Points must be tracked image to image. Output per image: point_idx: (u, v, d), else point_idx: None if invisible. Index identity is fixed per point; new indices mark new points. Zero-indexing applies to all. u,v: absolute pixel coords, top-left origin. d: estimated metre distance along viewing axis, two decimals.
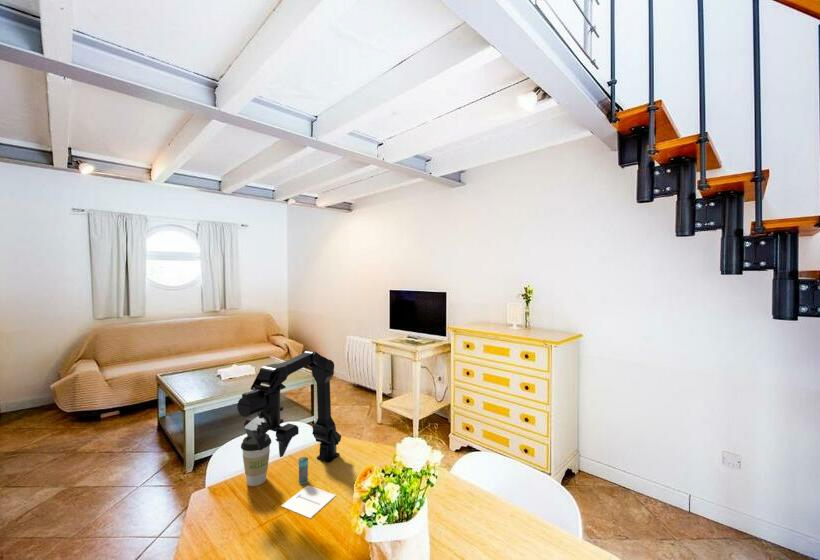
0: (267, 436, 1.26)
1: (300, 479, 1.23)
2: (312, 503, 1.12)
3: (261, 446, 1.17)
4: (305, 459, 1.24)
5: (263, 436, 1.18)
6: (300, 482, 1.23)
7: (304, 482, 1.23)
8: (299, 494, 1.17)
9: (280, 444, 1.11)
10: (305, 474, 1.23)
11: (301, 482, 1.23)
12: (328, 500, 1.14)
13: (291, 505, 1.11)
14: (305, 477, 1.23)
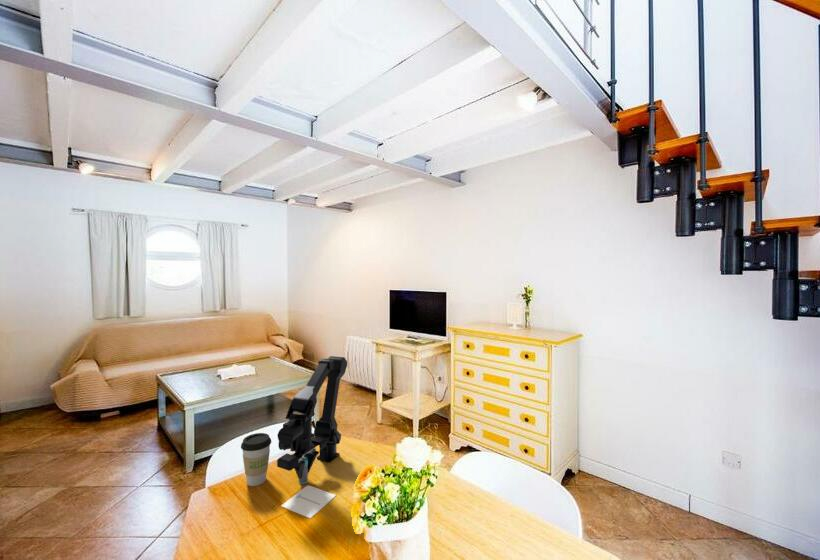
0: (267, 436, 1.26)
1: (300, 479, 1.23)
2: (312, 503, 1.12)
3: None
4: (305, 459, 1.24)
5: (309, 463, 1.25)
6: (300, 482, 1.23)
7: (304, 482, 1.23)
8: (299, 494, 1.17)
9: None
10: (305, 474, 1.23)
11: (301, 482, 1.23)
12: (328, 500, 1.14)
13: (291, 505, 1.11)
14: (305, 477, 1.23)
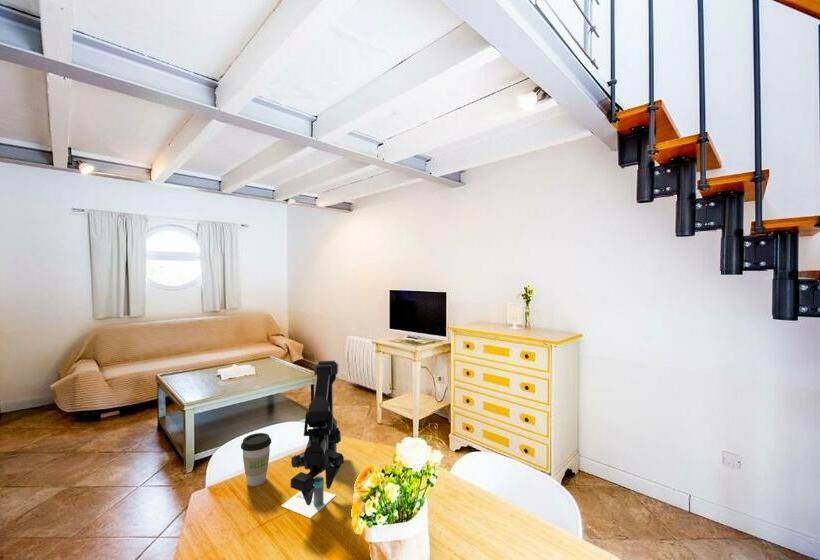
0: (267, 436, 1.26)
1: (315, 501, 1.11)
2: (312, 503, 1.12)
3: (327, 485, 1.16)
4: (321, 479, 1.12)
5: (331, 477, 1.16)
6: (315, 505, 1.11)
7: (320, 505, 1.11)
8: (299, 494, 1.17)
9: None
10: (321, 496, 1.11)
11: (316, 505, 1.11)
12: (328, 500, 1.14)
13: (291, 505, 1.11)
14: (321, 500, 1.11)
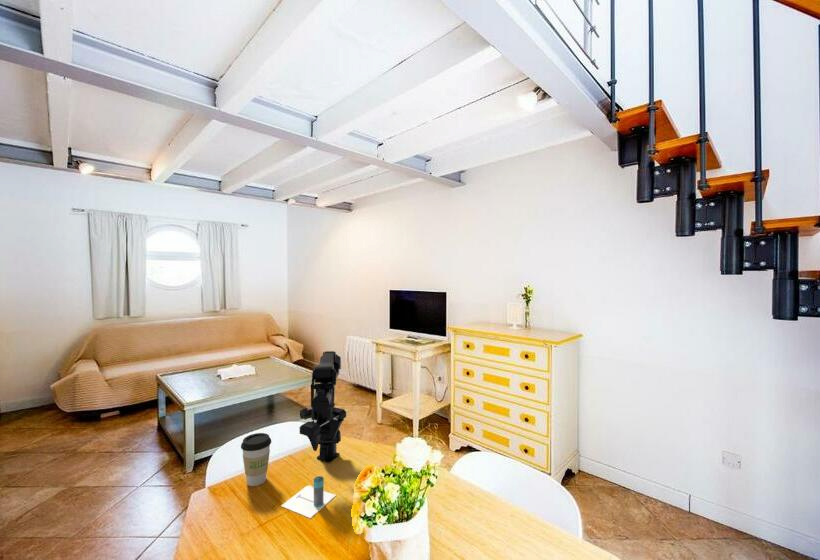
0: (267, 436, 1.26)
1: (315, 501, 1.11)
2: (312, 503, 1.12)
3: (331, 436, 1.30)
4: (321, 479, 1.12)
5: (335, 429, 1.30)
6: (315, 505, 1.11)
7: (320, 505, 1.11)
8: (299, 494, 1.17)
9: None
10: (321, 496, 1.11)
11: (316, 505, 1.11)
12: (328, 500, 1.14)
13: (291, 505, 1.11)
14: (321, 500, 1.11)
